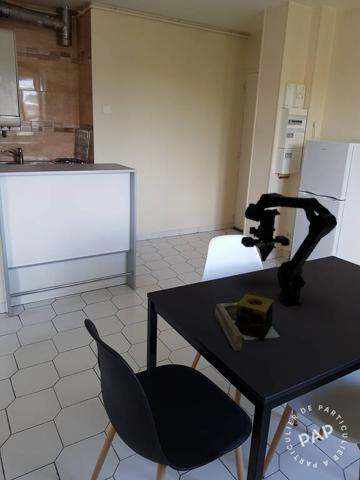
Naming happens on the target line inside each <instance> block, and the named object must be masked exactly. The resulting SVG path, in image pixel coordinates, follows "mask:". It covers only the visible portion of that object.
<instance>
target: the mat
mask: <svg viewBox="0 0 360 480" xmlns="http://www.w3.org/2000/svg"><path fill="white" fill-rule="evenodd" d="M233 322H234V323H235V320H233ZM274 338H281V336H280V335H279V334H278V332H277V331H276V330H275V329H274V327H273V326H271V328H270V329H269V332H268V333H267V335H266V337H265V338H264V340H265V339H274ZM242 339H243V340H244V341H249V340H250V341H253V340H259V339H258V338H256V337H251V336H247V335H244V334H242Z"/></svg>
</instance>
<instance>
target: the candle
mask: <svg viewBox="0 0 360 480" xmlns="http://www.w3.org/2000/svg"><path fill="white" fill-rule="evenodd" d="M236 303H237V305H236V309H237V312H236V318H235V320H234V321H235V325H236V326H237V328H238V330H239V331H240V333H241V334H244V335H247V336H251V337H256V338H258V339H257V340H261V341H264V340H265V339H266V338H265V337H266V335H267V333H268V332H269V329H270V328H271V326H272V323H273V312H274V303H275V301H274V299H270V298H266V297H262V296H257V295H254V294H249V293H245V294H244V296H242V298H241V299H240V300H239V302H236ZM272 327H273V326H272ZM264 338H265V339H264Z"/></svg>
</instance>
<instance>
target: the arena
mask: <svg viewBox="0 0 360 480" xmlns="http://www.w3.org/2000/svg"><path fill="white" fill-rule="evenodd" d="M237 303H238V302H227V303H224V302H223V303H215V313H214V316H215V319H216V321H217V322H218V324H219V326H220V328H221V329H222V331H223V333H224V334H225V336H226V338H227V340H228V342H229V343H230V345H231V346H232V348H233V351H242V347H243V346H242V344H243V337H242V334H241V333H240V331H239V330H238V328H237V326H236V325H235V323H234V322H233V321H234V320H233V319H236V312H237V309H236V305H237Z"/></svg>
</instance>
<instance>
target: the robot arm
mask: <svg viewBox="0 0 360 480" xmlns="http://www.w3.org/2000/svg"><path fill="white" fill-rule="evenodd" d="M279 207H280V208H290V209H302V210H303V211H304V213H305V217H306V219H307V221H308V223H309V224H308V231H307V232H308V233H307V234H306V236H305V237H304V239H303V241H302V242H301V244H300V245H299V247H298V249H297V250H296V252H295V253H294V255H293V256H292V257H291V259H290V260H288V261H287V260H286V261H284V262H282V263H281V264H280V267H279V268H278V269H277V273H276V276H277V281H278V282H277V283H278V287H279V289H281V290H280V292H279V297H278V300H279V301H280V302H281V303H282V304H283V305H284V306H285V307H290V306H291V307H292V306H301V305H302V303H301V302H300V297H301V291H302V290H301V289H302V288H304V287H305V285H306V281H305V280H304V279H303V276H302V273H303V267H304V265H305V263H306V261H307V260H308V259H309V257H310V256H311V254H312V253H313V252H314V251H315V249H316V248H317V246H318V244H319V243H320V241H321V240H322V239H323V238H324V237H326V236H327V235H329V234H330V233H331V232H332V231H333V230H334V229H335V228H336V226H338V225H337V224H338V222H337V221H338V220H337V217H336V215H334V214H333V213H332V212H331V211H330V210H329V209H328V208H327V207H326V206H324V205H323V204H321V202H319V200H318V199H317V198H316V197H299V196H286V195H283V194H282V193H281V194H280V193H279V192H278V193H277V192H268V193H262V194H260V197H259V199H258V201H257V202H256V203H254V202H251V203H249V204H248V206H247V207H246V209H245V211H244V217H245V219H247V220H250V221H253V222H256V223H259V224H258V226H257V228H256V227H255V226H249V235H252V236H253V237H252V236H243V237H242V238H241V240H240V242H241V245H243V246H244V247H245V248H254V247H256V248H257V249H258V251H259V254H260V259H261V261H262V262H266V261H267V259H268V258H269V256H270V254H271V252H272V251H274V249H277V246H276V245H275V244H280V245H281V246H283V247H289V246H290V243H291V241H290V239H289V238H288V237H287V236H285V235H275V237H274V233H275V232H276V228H275V223H276V217H277V216H280V215H281V212H280V211H279V210H278V209H277V208H279ZM271 208H272V209H271Z"/></svg>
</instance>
